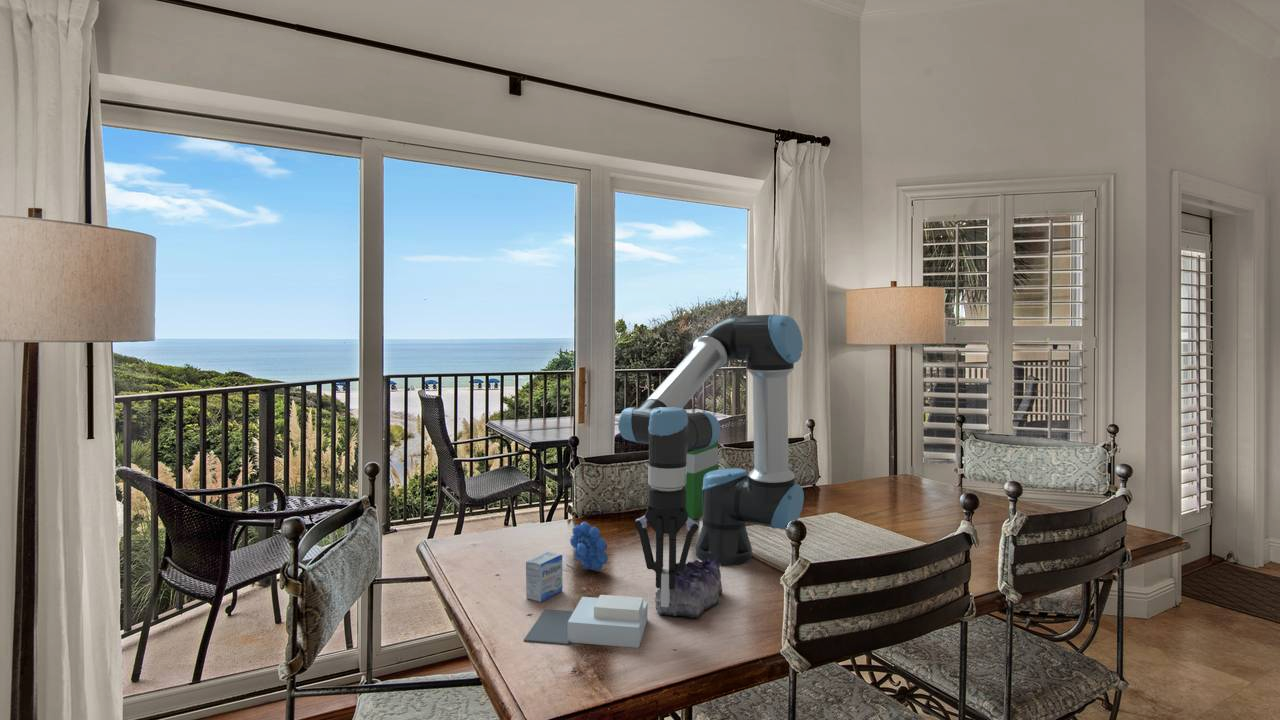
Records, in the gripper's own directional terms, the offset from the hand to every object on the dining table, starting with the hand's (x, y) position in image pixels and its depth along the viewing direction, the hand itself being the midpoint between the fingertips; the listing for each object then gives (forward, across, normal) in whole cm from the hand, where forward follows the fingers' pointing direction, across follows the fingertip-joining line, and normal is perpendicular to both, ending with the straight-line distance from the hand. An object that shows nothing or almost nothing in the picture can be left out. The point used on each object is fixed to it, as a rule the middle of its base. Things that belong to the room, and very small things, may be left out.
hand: (665, 604), depth 128 cm
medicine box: (+7, +29, -15) cm, 34 cm away
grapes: (+6, +23, -31) cm, 40 cm away
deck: (+6, +11, 0) cm, 13 cm away
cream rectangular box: (+2, +9, 0) cm, 10 cm away
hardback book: (+6, -1, -89) cm, 89 cm away
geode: (+7, -4, -16) cm, 18 cm away
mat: (+7, +22, 0) cm, 23 cm away
